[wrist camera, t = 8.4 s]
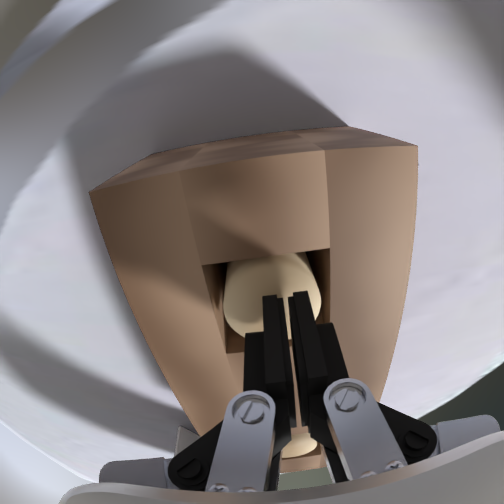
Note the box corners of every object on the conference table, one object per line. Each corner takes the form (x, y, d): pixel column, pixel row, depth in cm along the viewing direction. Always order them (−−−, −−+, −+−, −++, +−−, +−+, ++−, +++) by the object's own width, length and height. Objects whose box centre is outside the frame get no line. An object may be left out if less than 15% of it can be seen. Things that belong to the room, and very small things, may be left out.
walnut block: (349, 126, 16) (417, 146, 9) (341, 396, 28) (357, 460, 21) (151, 154, 17) (88, 192, 10) (229, 410, 29) (227, 476, 22)
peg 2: (303, 357, 24) (317, 433, 17) (304, 384, 26) (316, 453, 19) (257, 363, 24) (260, 440, 18) (262, 389, 26) (266, 459, 20)
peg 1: (292, 197, 18) (319, 258, 11) (297, 255, 20) (321, 335, 13) (226, 206, 18) (213, 273, 11) (237, 263, 20) (232, 347, 13)
